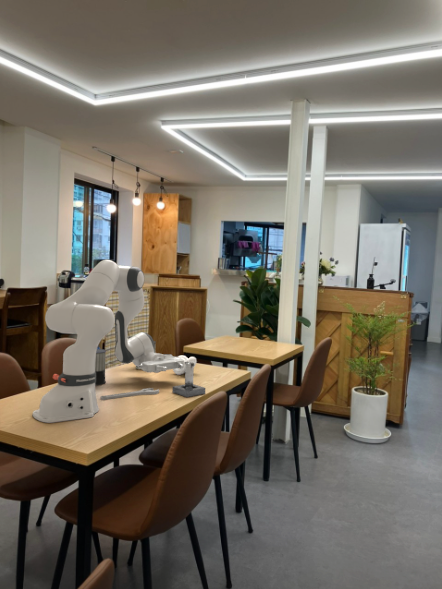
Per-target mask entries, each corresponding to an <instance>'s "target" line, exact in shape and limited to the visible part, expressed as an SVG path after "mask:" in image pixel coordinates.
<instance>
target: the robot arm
mask: <svg viewBox="0 0 442 589" xmlns="http://www.w3.org/2000/svg"><path fill="white" fill-rule="evenodd" d="M144 284H145V274H144V272H143V270H142V269H141V268H140V267H138V266H134V265H133V266H128V265H120V264H117V263H116V262H115V261H113V260H110V259H103V260H101V261H99V262H98V263H97V264H96V265H95V266H94V267H93V269H92V270H91V271H90V272H89V274H88V275H87V276H86V279H84V282H83V283H82V284H81V286H80V288H78V290H76V291H75V292H74V293H72V294H71V295H69V296H68V297H66V298H65V299H64V300H61V301H59V302H57V303H54V304H52V305H50V306H49V307H48V308H47V310H46V312H45V315H44V320H45V324H46V326H47V327H48V329H49V330H50V331H54V332H57V333H60V334H72V335H77V337H76V341H75V343H73V344H71V345H69V346H67V348H66V349H65V350H64V351H63V354H62V356H63V357H62V361H63V362H62V363H63V364H62V372H61V373H60V375H59V374H57V373H54V374H53V375H52V379H53V380H55V381H57V384H56V385H55V386H53V387H52V388H51V389H50V390H48V391H47V392H46V393H45V394H44V395H42V397H41V399H40V403H39V408H38V409H36V410H33V412H32V417H33V418H34V419H35V420H38V421H39V422H43V423H49V424H50V423H52V424H53V423H59V422H66V421H74V420H79V419H86V418H93V417H94V416H95V414H96V413H98V412H99V410H100V408H99V405H98V400H97V399H98V398H97V393H96V392H97V391H96V386H97V385H96V372H95V359H96V351H97V349H98V346H99V344H100V343H101V341H102V340H103V338H104V337H105V336H106V335H108V334H109V333H110V332H111V331H112V330H113V329H114V332H115V334H114V335H115V337H114V338H115V347H114V355H115V357H116V359H117V361H118V362H120V363H122V364H127V365H129V364H130V363H132V364H133V365H135V367H136V366H137V367H139V368H142V369H141V371H143V372H146V373H155V374H158V373H161V372H166V371H169V370H173V369H176V368H179V369H182V368H183V367H184V360H183V359H181V358H178V356H173V355H172V354H168V353H167V354H165V353H164V354H162V353H159V352H158V353H157V352H156V345H155V346H154V341H155V340H154V339H153V337H152V336H151V335H150V334H148V333H147V332H144V331H140V332H138V333H137V334H134V335H133V336H131V337H130V338H128V328H129V325H130V324H131V322H132V321H133V320H134V319H135V318H136V317H137V315H139V314H140V313H141V312H142V311H143V308H144V307H145V294H144V291H143V287H144ZM113 292H117V296H118V306H117V310H116V312H115V313H114V312H113V310H112V309H111V307H108V306H105V305H106V304H107V302H108V301H109V299H110V297H111V296H112V293H113ZM154 351H155V353H154Z"/></svg>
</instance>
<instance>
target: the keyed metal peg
mask: <svg viewBox="0 0 442 589" xmlns="http://www.w3.org/2000/svg"><path fill="white" fill-rule="evenodd" d="M194 368H195V367H194V363H193V362H185V373H184V374H185V375H184V384H185V389H193V384H194V371H195V370H194Z"/></svg>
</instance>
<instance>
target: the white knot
mask: <svg viewBox="0 0 442 589" xmlns="http://www.w3.org/2000/svg"><path fill="white" fill-rule="evenodd" d="M177 357H178V358H181V359H183V360H184V367H183V368H182V369H179V368H176V369H172V370H173V373H174V374H175V375H177V376H180V375H183V374H185V362H193V363H194V368H195V367H196V365H197V358H196V357H195V356H190V357H189V358H188V357H187V356H186V355H178V356H177Z"/></svg>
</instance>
